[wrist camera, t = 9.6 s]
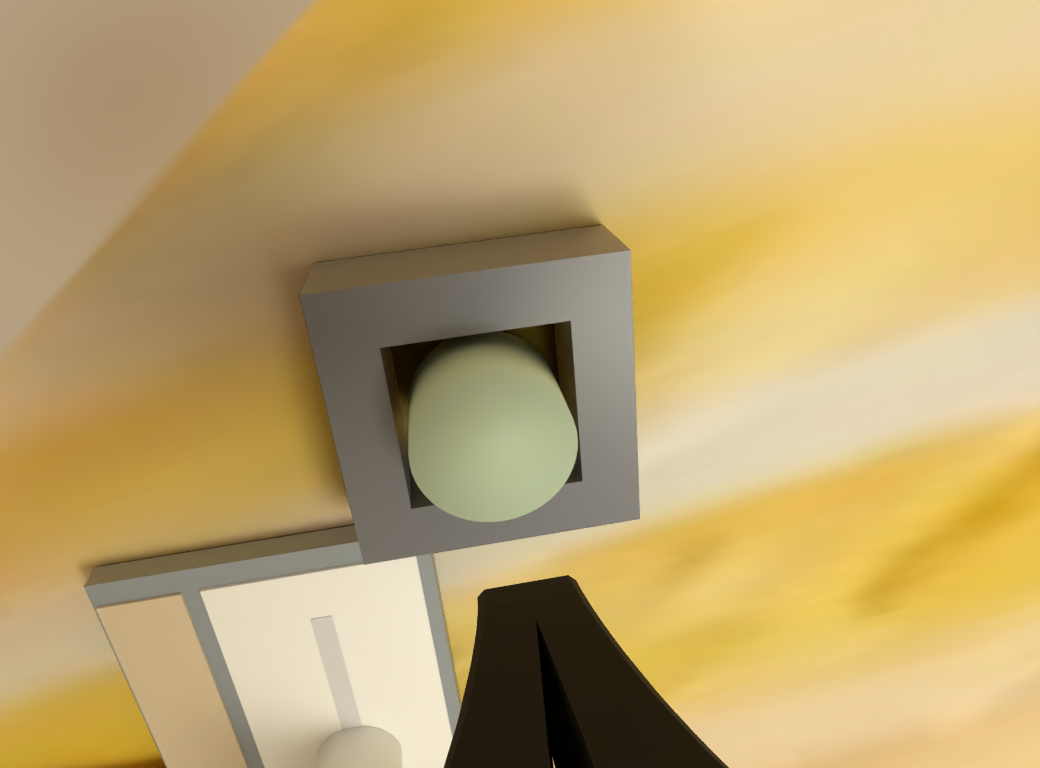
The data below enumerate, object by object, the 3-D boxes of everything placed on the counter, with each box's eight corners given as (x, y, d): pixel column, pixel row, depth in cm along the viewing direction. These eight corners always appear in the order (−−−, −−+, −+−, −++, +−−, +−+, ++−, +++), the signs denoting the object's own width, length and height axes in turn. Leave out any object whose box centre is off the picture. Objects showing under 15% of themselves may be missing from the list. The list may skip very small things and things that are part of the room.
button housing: (602, 224, 18) (630, 249, 16) (615, 468, 21) (640, 518, 19) (313, 263, 17) (299, 295, 15) (368, 507, 20) (363, 564, 18)
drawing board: (425, 513, 21) (426, 533, 20) (477, 793, 26) (480, 819, 25) (95, 567, 20) (82, 590, 19) (217, 844, 25) (210, 872, 24)
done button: (550, 319, 17) (572, 361, 15) (561, 452, 19) (582, 507, 16) (396, 342, 17) (394, 387, 15) (421, 474, 18) (422, 534, 16)
